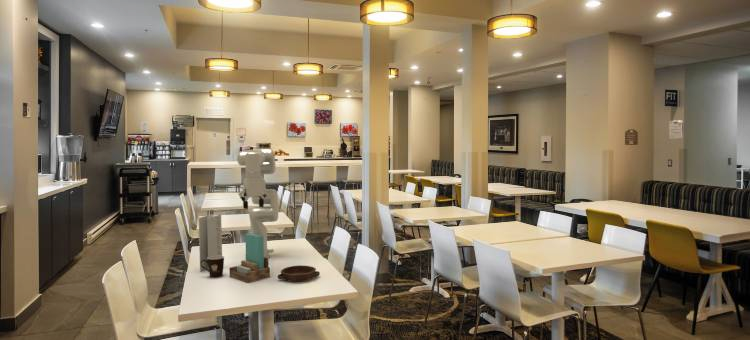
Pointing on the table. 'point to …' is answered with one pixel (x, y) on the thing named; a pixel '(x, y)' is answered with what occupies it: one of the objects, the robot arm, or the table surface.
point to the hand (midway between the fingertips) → (253, 207)
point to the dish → (298, 273)
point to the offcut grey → (243, 270)
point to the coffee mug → (215, 265)
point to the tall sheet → (255, 249)
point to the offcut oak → (249, 265)
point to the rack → (251, 273)
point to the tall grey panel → (209, 238)
